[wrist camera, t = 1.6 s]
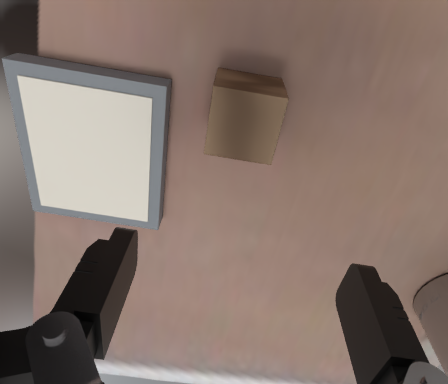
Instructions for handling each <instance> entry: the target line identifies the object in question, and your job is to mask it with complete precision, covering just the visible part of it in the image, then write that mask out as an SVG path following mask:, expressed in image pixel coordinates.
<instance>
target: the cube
mask: <svg viewBox="0 0 448 384" xmlns="http://www.w3.org/2000/svg"><path fill="white" fill-rule="evenodd" d="M288 100H289V98H288V95H287V92H286V89H285V86H284V83H283V80H282V79H281V78H275V77H269V76H264V75H258V74H252V73H247V72H241V71H235V70H230V69H224V68H218V71H217V74H216V78H215V81H214V85H213V91H212V98H211V105H210V112H209V120H208V127H207V134H206V142H205V149H204V154H207V155H213V156H219V157H225V158H231V159H237V160H243V161H249V162H255V163H261V164H267V165H271V164H272V160H273V156H274V152H275V149H276V145H277V141H278V138H279V134H280V130H281V126H282V123H283V119H284V115H285V112H286V108H287V104H288Z"/></svg>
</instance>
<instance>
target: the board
mask: <svg viewBox="0 0 448 384" xmlns="http://www.w3.org/2000/svg"><path fill="white" fill-rule="evenodd" d="M2 61H3V66H4V71H5V76H6V81H7V85H8V90H9V95H10V100H11V105H12V110H13V115H14V120H15V125H16V130H17V134H18V139H19V144H20V149H21V154H22V159H23V164H24V169H25V173H26V179H27V183H28V188H29V193H30V198H31V203H32V208H33V211H38V212H44V213H51V214H57V215H64V216H70V217H77V218H83V219H89V220H96V221H102V222H109V223H115V224H122V225H128V226H135V227H141V228H148V229H154V230H158V229H159V226H160V223H161V220H162V215H163V201H164V186H165V171H166V156H167V141H168V127H169V112H170V97H171V82H172V79H166V78H160V77H155V76H149V75H143V74H137V73H132V72H126V71H120V70H114V69H109V68H103V67H97V66H91V65H86V64H80V63H74V62H68V61H62V60H57V59H51V58H45V57H39V56H34V55H28V54H22V53H15V54H13V55H10V56H7V57H5V58H2Z"/></svg>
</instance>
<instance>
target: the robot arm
mask: <svg viewBox="0 0 448 384" xmlns="http://www.w3.org/2000/svg"><path fill="white" fill-rule="evenodd" d="M137 248H138V232H137V230H133V229H126V228H120V227H116V228H115V229H114V231H113V233H112V235H111V237H110V239H109V240H102V239H98V240H97V241H96V242H94V243H93V244H92V245H91V246H89V247H88V248H87V249H86V251H85V253H84V255H83V256H82V258H81V261H80V262H79V263H78V265H77V267H76V269H75V272H73V274H72V276H71V278H70V279H69V281H68V283H67V285H66V286H65V288H64V290H63V292H62V293H61V295H60V297H59V299H58V301H57V302H56V304H55V306H54V308H53V309H52V311H51V312H50V313H49V314H47V315H45V316H43V317H41V318H39V319H38V320H37V321H36V322H35V323H34V324H33V325H31V326H29V327H26V328H22V329H17V330H11V331H4V332H0V384H104V382H102V381H101V379H100V376H99V373H98V370H97V368H96V365H95V362H94V358H95V359H103V360H104V358H105V355H106V352H107V350H108V347H109V344H110V341H111V339H112V336H113V333H114V330H115V328H116V325H117V322H118V319H119V317H120V314H121V311H122V308H123V305H124V303H125V300H126V297H127V294H128V292H129V289H130V286H131V283H132V281H133V278H134V275H135V271H136V266H137ZM413 306H414V310H415V312H416V315H417V317H418V319H419V321H420V323H421V325H422V327H423V329H424V331H425V333H426V335H427V337H428V339H429V341H430V343H431V345H432V347H433V349H434V352H435V354H436V356H437V358H438V360H439V362H440V364H441V366H442V368H443V369H444V372H445V374H444V373H443V372H442V371H441V370H440V369H438V368H437V367H435V366H433V365H431V364H430V363H429V361H428V359H427V357H426V355H425V353H424V351H423V348H422V346H421V344H420V342H419V340H418V338H417V336H416V333H415V331H414V329H413V327H412V325H411V323H410V321H408V319H409V318H408V316H407V314H406V312H405V311H404V310H403V306H402V303H401V301H400V299H399V297H398V295H397V294H396V293H395V292H394V290H393V289H392V288H391V287H390V286H389V285H388V284H387V283H385V282H381V279H380V277H379V275H378V273H377V270H376V269H375V268H374V267H373V266H366V265H360V264H351V265H350V267H349V268H348V270H347V272H346V274H345V276H344V278H343V280H342V282H341V284H340V286H339V288H338V290H337V293H336V307H337V311H338V315H339V318H340V322H341V326H342V329H343V333H344V337H345V341H346V344H347V348H348V352H349V355H350V359H351V363H352V366H353V370H354V374H355V378H356V381H357V384H448V274H446V275H444V276H441V277H439V278H436V279H435V280H433V281H431V282H429V283H428V284H427V285H425V286H424V287H423V288H422V289H421V290H420V291H419V292H418V293H417V295H416V297H415V299H414V303H413Z"/></svg>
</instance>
